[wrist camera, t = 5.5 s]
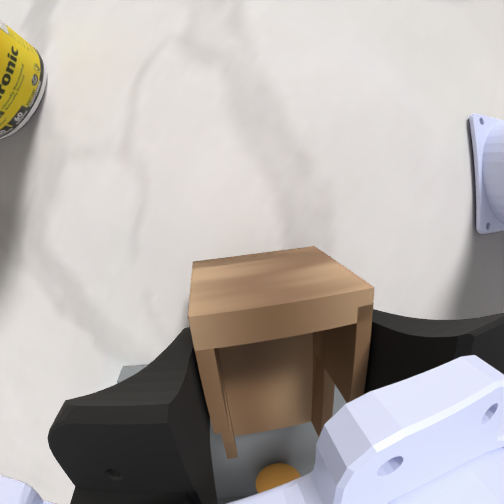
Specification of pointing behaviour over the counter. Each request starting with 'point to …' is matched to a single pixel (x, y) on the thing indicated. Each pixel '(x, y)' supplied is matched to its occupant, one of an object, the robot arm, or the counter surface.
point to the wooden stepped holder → (278, 339)
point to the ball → (275, 476)
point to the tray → (257, 452)
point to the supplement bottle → (18, 80)
